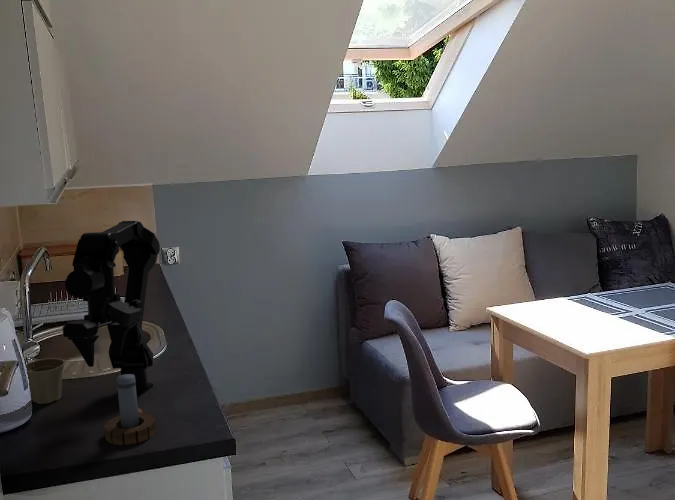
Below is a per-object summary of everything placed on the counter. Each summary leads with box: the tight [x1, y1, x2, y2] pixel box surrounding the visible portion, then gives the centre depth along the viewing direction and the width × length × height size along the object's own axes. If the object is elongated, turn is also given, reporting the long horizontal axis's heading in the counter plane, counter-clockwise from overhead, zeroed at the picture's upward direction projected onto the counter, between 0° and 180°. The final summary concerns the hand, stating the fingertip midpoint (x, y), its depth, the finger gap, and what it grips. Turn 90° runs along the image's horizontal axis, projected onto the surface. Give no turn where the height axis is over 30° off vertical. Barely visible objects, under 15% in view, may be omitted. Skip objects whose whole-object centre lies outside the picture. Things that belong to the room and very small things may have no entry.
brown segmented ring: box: [104, 412, 157, 446], centre depth 144 cm, size 10×10×2 cm
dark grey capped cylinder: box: [116, 374, 139, 429], centre depth 143 cm, size 4×4×12 cm
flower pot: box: [25, 357, 66, 405], centre depth 163 cm, size 9×9×9 cm
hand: (105, 361), depth 150 cm, fingers open, 9 cm apart
